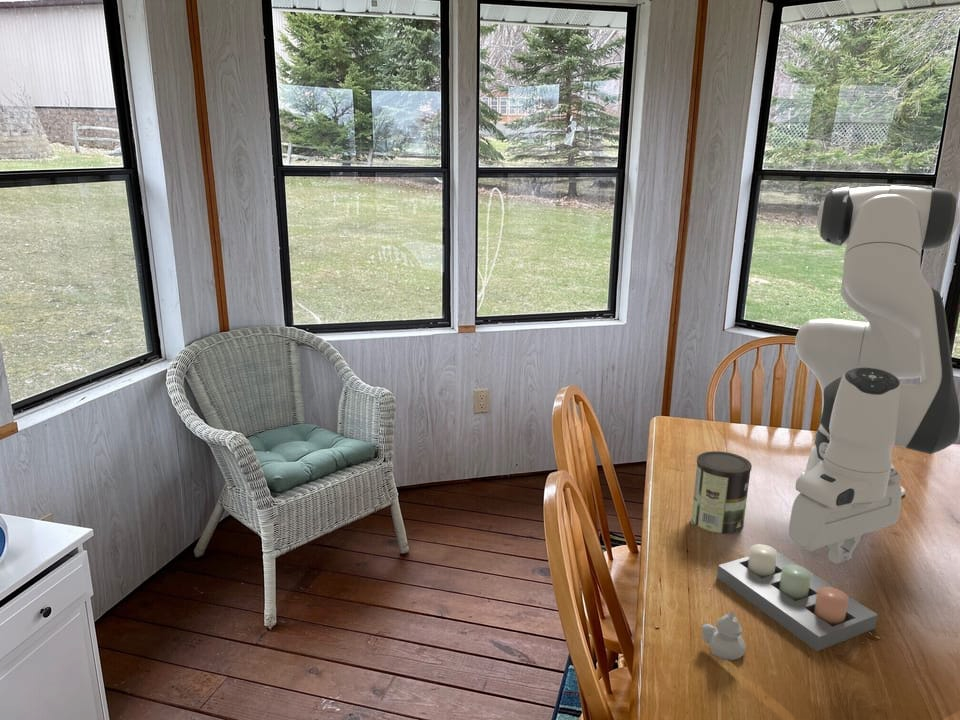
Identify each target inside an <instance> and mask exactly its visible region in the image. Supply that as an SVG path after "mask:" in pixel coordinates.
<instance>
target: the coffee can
mask: <svg viewBox="0 0 960 720" xmlns="http://www.w3.org/2000/svg"><path fill="white" fill-rule="evenodd" d="M751 471H752V463H751V461H749V460H748V459H747V458H745V457H744V456H742V455H738V454H736V453H732V452H727V451H706V452H702V453H700V454H698V455H697V457H696V471H695V479H694V480H695V482H694V490H693V491H694V492H693V499H692V500H693V502H692V511H691V517H690V523H691V525H694V524H695V525H696V526H697V527H699V528H701V529H702V530H704V531H707V532H710V533H716V534H720V535H721V534H724V535H726V534H727V535H728V534H735V533H738V532H740V531H742V530H743V529H744V523H745V516H746V507H747V501H748V500H747V499H748V492H749V486H750V485H749V484H750V479H751V478H750V477H751V476H750V475H751Z"/></svg>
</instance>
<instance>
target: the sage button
mask: <svg viewBox="0 0 960 720" xmlns="http://www.w3.org/2000/svg"><path fill="white" fill-rule="evenodd" d="M798 565H799V564H798ZM798 565H792V564H790V565H785V566H783V568H782V573H781V580H780V586H779V590H780V591H781V592H783V593H784V594H785V595H787V596H788V597H790V598H791V599H793V600H794V601H797V600H800V599H803V598H806V597H808V592H809V586H810V580H811V573H812V572H811V571H809V569H807V568H806V567H804V566H802V565H800V566H798ZM810 572H811V573H810Z"/></svg>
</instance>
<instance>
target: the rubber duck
mask: <svg viewBox="0 0 960 720" xmlns="http://www.w3.org/2000/svg"><path fill="white" fill-rule="evenodd" d="M734 613H735V611H734V610H733V611H730V612H728V613H727V614H726V613H725V614H724V615H722V616H721V617H719V619H718V620H717V621H716V624H715V625H716V626H714V625H712V624H710V623H704V624H703V625H702V626H701V629H702V630H701V631H702V637H701V638H702V641H703V642H704V643H707V644H708V645H709V648H710V652H711V653H712V655H713V656H715V657H717V658H719V659H721V660H724V661H727V662H729V661H730V660H731V661H733V660H738V659H740V658H742V656H743V655H744V654H745V652H746V649H747V648H746V647H747V646H746V643H745V640H744V638H743V636H742V635H741V634H743V629H742V628H743V627H742V626H741V624H740V623H739V620H738V617H736V616H735V614H734Z"/></svg>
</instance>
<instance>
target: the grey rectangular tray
mask: <svg viewBox="0 0 960 720" xmlns="http://www.w3.org/2000/svg"><path fill="white" fill-rule="evenodd" d="M748 561H749V555H748V556H745V557H741V558H738V559H735V560H732V561H727V562H725V563H721V564H718V566H717V575H716V579H718V580H719V581H720V582H722V583H723V584H725V586H727V587H728V588H730V589H732V591H733V592H735V593H737V595H739V596H741V597H742V598H744V599H745V600H746V601H748V602H749V603H750V604H751V605H752V606H754V607H755V608H757V609H758V610H760V611H761V612H762V613H764V614H765V615H766V616H768V617H769V618H770V619H772V620H773V621H774V622H776V623H777V624H779V625H780V626H782V627H783V628H785V630H787V631H788V632H790V633H791V634H793V635H794V636H795V637H796V638H798V639H799V640H800V641H802V642H803V643H804V644H806V645H807V646H809V647H810V648H812V649H813V650H814V651H815V652H819V651H821V650H824V649H826V648H829V647H832V646H834V645H836V644H837V645H838V644H839V643H842V642H844V641H846V640H849V639H852V638H854V637H857V636H860V635H862V634H865V633H867V632H870V631H872V630H875V629H876V625H877V620H878V616H879V614H877V613H876V612H875V611H873V610H871V609H870V608H868V607H867V606H865V605H863V604H862V603H860V602H858V601H857V600H855V599H854V598H852V597H851V596H849V595H847V596H848V598H849V600H848V606H847V611H846V616H845V622H843V623H841V624H838V625H835V626H833V627H832V626H831V625H829V624H828V623H826V622H825V621H823V620H822V619H821V618H819V617H818V616H816V615H815V614H814V609H815V603H816V597H817V592H818V589H819V588H821V587H832V588H836V587H835V586H833V585H831V584H830V583H828V582H827V581H825V580H824V579H822V578H820V577H818V576H817V575H816V574H814V573H812V572H811V571H809V572H810V573H811V580H810V586H809V592H808V597H806V598H803V599H800V600H797V601H794V600H793V599H791V598H790V597H788V596H787V595H785V594H784V593H783V592H781V591H780V590H779V586H780V580H781V573H782V568H783V566H785V565H790V564H792V565H798V566H801V565H800V564H798V563H796V562H795V561H793V560H792V559H790V558H788V557H787V556H785V555H783V554H782V553H780V552H779V551H777V560H776V567H775V573H774V575H771V576H768V577H765V578H761V577H759V576H758V575H756V574H755V573H753V572H752V571H750V570H749V569H748Z"/></svg>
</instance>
